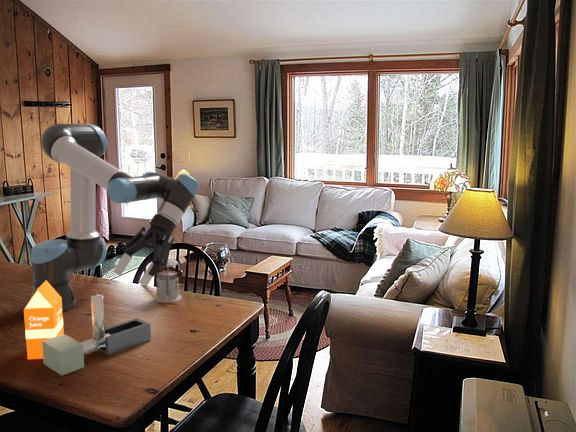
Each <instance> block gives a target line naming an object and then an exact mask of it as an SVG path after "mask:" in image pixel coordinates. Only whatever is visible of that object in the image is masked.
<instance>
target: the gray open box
mask: <svg viewBox="0 0 576 432" xmlns="http://www.w3.org/2000/svg"><path fill="white" fill-rule="evenodd" d="M107 333H108V334H110V335H109V336H106V337H105V348H102V349H100V350H98V351H99V352H101V353H102V354H104V355H106V356H108V357H110V356H111V355H114V354H115V355H116V354H117V353H119V352H120V353H121V352H122V351H125V350H128V349H130V348H133V347H136V346H139V345H142V344H144V343H146V342H149V341H152V337H151V336H152V335H151V333H152V331H151V323H149V322H147V321H145V320H142V319H139V318H138V317H136V318H132V319H129V320H126V321H124V322H120V323H116V324H114V325H111V326H107V327H105V334H107Z"/></svg>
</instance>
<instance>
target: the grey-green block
mask: <svg viewBox="0 0 576 432" xmlns="http://www.w3.org/2000/svg"><path fill="white" fill-rule="evenodd" d="M42 349H43V359H42V360H43V362H42V363H43V365H45V366H46V367H48V368H49V369H51V370H52V371H53V372H55V373H57V374H58V375H60V376H64V375H68V374H70V373H72V372H75V371H78V370H81V369H83V368H85V355H84V353H83V344H82V343H80V341H78V340H76V339H74V338H73V337H71V336H69V335H67V334H65V333H64V334H63V335H60V336H57V337H54V338H50V339H47V340H44V341H42Z"/></svg>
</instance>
